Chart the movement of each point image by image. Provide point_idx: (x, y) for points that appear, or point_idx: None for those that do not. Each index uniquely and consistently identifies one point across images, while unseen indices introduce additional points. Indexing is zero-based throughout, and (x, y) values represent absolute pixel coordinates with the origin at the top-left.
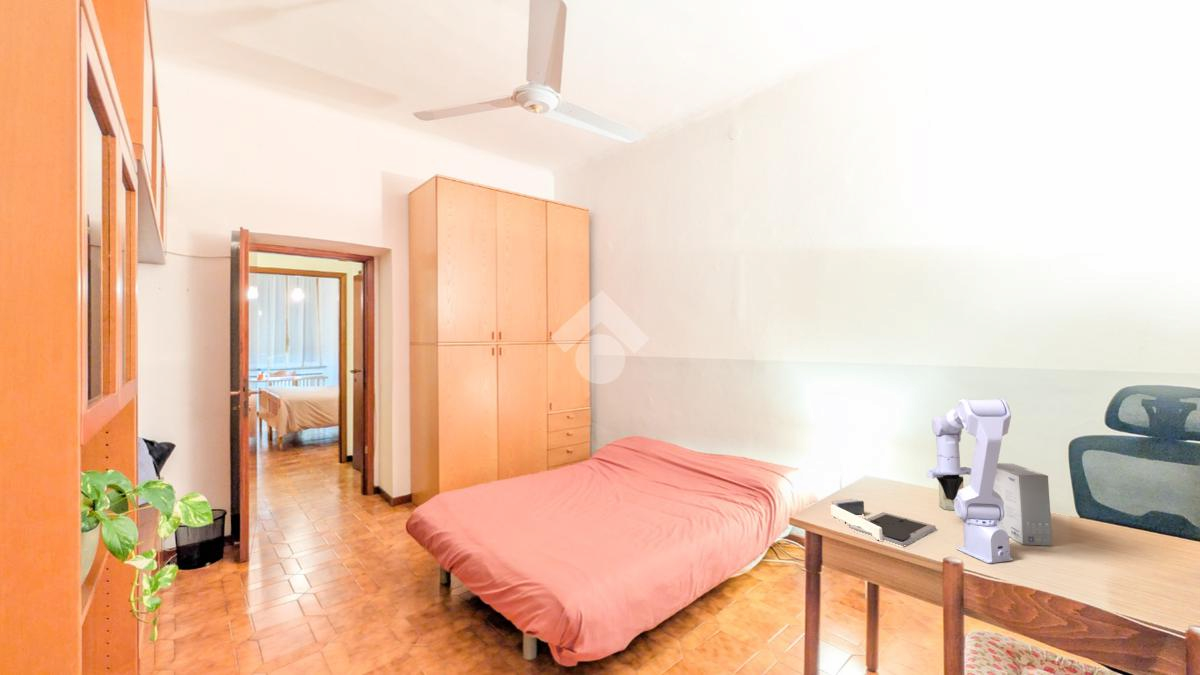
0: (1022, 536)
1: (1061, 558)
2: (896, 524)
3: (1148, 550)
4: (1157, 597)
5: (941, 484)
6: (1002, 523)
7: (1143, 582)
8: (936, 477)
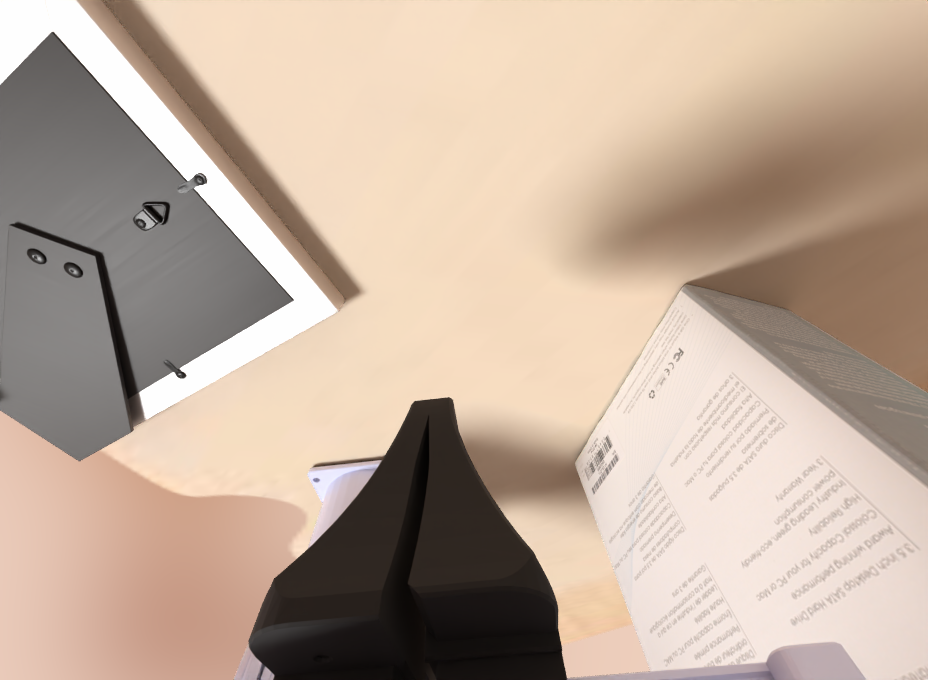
0: (584, 490)
1: (583, 526)
2: (94, 283)
3: None
4: (564, 626)
5: (353, 512)
6: (648, 401)
7: (615, 599)
8: (268, 595)
